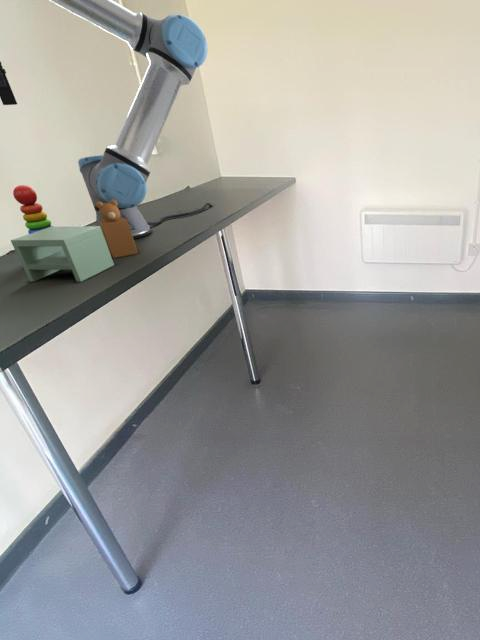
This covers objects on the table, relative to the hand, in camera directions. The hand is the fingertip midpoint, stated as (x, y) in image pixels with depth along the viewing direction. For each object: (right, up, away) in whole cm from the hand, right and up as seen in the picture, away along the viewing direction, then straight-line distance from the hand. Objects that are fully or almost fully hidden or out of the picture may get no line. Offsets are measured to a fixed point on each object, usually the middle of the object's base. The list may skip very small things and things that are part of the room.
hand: (10, 104), depth 117 cm
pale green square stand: (+11, -39, +6) cm, 41 cm away
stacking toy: (-4, -31, +21) cm, 37 cm away
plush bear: (+17, -30, +20) cm, 40 cm away
